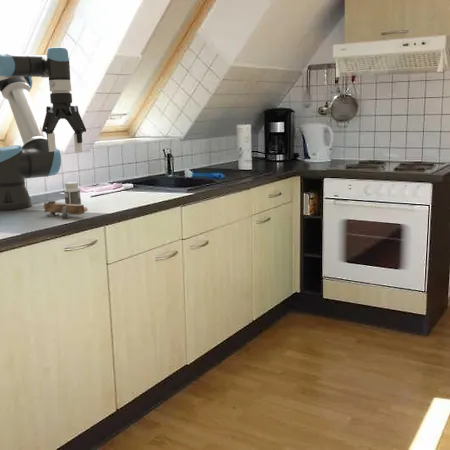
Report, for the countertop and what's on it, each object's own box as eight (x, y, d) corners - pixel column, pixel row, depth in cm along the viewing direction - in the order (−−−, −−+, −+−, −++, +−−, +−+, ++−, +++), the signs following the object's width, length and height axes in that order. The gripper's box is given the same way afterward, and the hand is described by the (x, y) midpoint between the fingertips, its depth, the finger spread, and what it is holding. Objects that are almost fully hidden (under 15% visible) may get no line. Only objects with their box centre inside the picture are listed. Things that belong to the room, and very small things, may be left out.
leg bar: (44, 211, 210) (44, 201, 209) (49, 210, 212) (48, 200, 211) (79, 214, 203) (78, 204, 202) (84, 213, 205) (83, 202, 204)
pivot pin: (43, 215, 209) (43, 212, 209) (53, 213, 213) (53, 210, 213) (52, 216, 207) (52, 213, 207) (61, 214, 211) (61, 211, 210)
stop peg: (61, 218, 203) (61, 207, 202) (65, 217, 204) (64, 206, 203) (65, 219, 202) (64, 207, 201) (68, 218, 203) (67, 206, 203)
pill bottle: (82, 207, 221) (80, 181, 219) (79, 210, 216) (77, 183, 214) (67, 208, 221) (65, 181, 219) (64, 210, 215) (61, 183, 213)
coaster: (54, 211, 217) (53, 210, 217) (74, 207, 225) (74, 206, 225) (73, 213, 212) (73, 212, 211) (93, 209, 220) (93, 208, 220)
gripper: (29, 93, 214) (34, 151, 218) (77, 91, 201) (82, 153, 205) (45, 93, 220) (49, 150, 224) (93, 91, 207) (97, 151, 211)
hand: (65, 151), depth 215 cm, fingers open, 13 cm apart
